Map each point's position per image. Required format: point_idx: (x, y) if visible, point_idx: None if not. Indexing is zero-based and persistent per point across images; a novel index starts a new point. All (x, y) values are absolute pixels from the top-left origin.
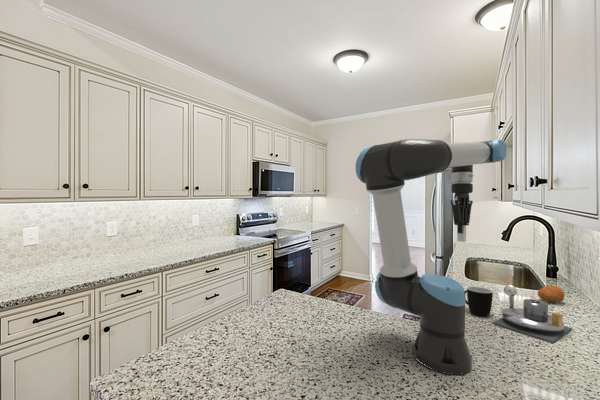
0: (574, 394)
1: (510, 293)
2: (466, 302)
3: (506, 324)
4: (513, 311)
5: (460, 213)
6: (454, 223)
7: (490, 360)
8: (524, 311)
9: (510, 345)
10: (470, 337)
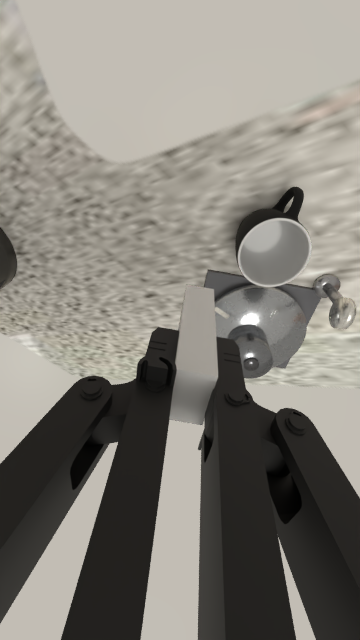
0: (59, 367)
1: (334, 310)
2: (283, 198)
3: (218, 293)
4: (266, 307)
5: (30, 572)
6: (90, 376)
7: (46, 299)
8: (238, 334)
9: (127, 310)
10: (98, 257)
